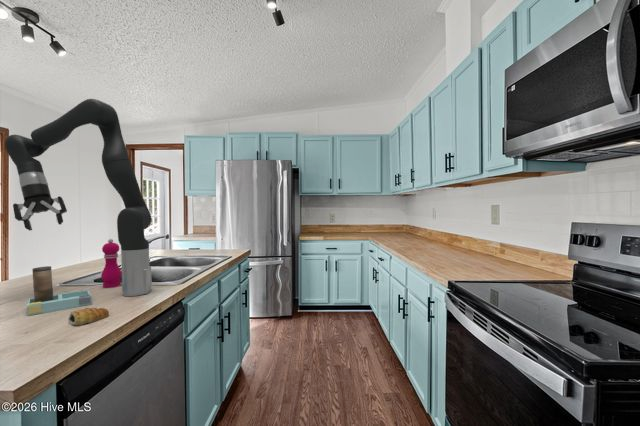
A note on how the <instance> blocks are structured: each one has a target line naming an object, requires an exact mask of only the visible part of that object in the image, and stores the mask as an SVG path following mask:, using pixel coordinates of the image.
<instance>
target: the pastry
mask: <svg viewBox="0 0 640 426" xmlns="http://www.w3.org/2000/svg"><path fill="white" fill-rule="evenodd" d="M109 315H110V313H109V310H108V309H107V308H104V307H100V308H97V307H89V308H88V307H85V308H83V309H77V310H75V311H74V310H73V311H70V314H69V316H68V319H67V320H68V322H69V324H70V325H73V326H83V325H86V324H87V323H94V322H97V321H100V320H103V319H105V318H106V317H108V316H109Z"/></svg>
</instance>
